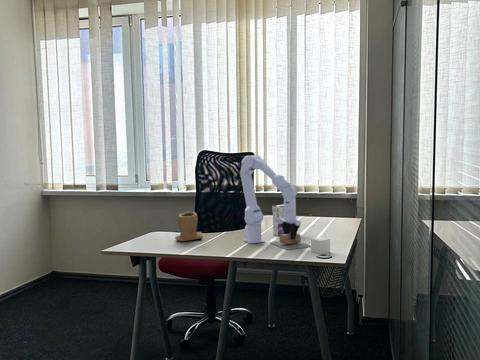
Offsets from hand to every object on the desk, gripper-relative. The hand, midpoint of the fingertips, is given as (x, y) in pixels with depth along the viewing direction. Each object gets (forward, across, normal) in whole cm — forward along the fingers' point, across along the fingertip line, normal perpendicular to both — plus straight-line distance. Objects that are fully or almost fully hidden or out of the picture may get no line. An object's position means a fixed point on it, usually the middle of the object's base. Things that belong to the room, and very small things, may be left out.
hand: (290, 238), depth 223 cm
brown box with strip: (+2, 0, 0) cm, 2 cm away
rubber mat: (+3, 0, 0) cm, 3 cm away
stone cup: (+4, -40, -35) cm, 54 cm away
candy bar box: (+4, -25, +13) cm, 28 cm away
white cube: (+4, +20, +3) cm, 20 cm away
